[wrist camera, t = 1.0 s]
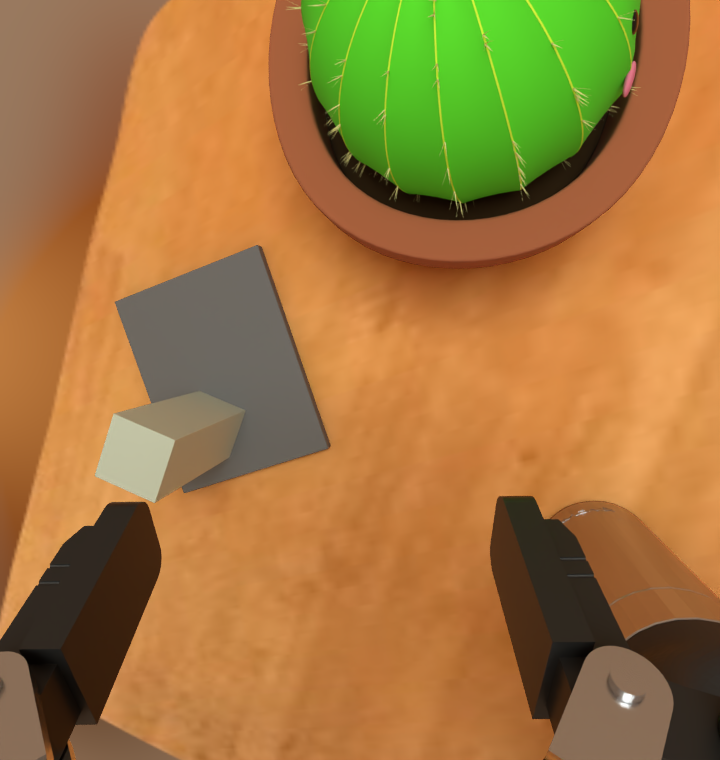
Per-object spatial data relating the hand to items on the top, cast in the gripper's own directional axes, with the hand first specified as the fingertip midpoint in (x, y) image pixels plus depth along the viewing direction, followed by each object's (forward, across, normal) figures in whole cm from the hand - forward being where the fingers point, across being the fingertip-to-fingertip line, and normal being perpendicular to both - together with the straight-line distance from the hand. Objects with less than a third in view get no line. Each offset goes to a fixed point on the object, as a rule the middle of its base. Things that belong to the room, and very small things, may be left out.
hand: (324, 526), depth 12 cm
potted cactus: (+36, +9, +5) cm, 38 cm away
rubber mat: (+32, -12, -13) cm, 36 cm away
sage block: (+29, -12, -17) cm, 36 cm away
